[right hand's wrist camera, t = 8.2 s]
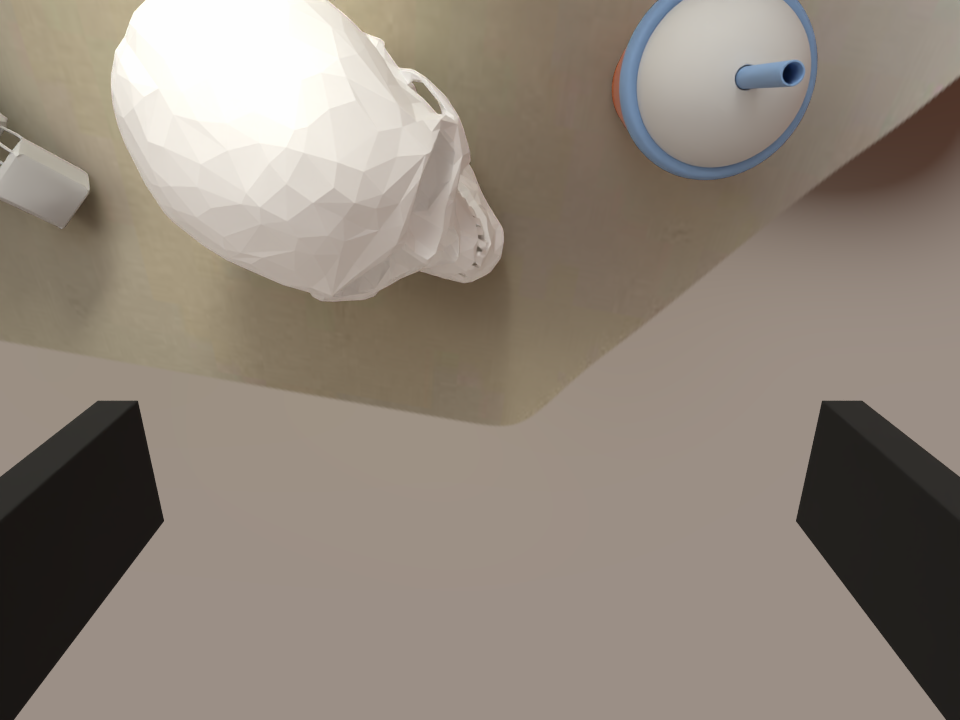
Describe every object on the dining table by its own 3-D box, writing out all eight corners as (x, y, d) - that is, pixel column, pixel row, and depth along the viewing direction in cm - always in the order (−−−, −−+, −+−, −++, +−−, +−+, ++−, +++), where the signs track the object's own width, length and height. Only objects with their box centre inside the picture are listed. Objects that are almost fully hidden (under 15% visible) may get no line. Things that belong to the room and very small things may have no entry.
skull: (451, 330, 46) (443, 431, 31) (158, 155, 41) (-18, 173, 26) (559, 164, 42) (609, 187, 27) (249, -48, 37) (105, -161, 22)
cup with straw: (681, 187, 42) (814, 244, 25) (560, 119, 40) (616, 131, 24) (766, 50, 39) (981, 11, 22) (638, -30, 37) (766, -136, 21)
